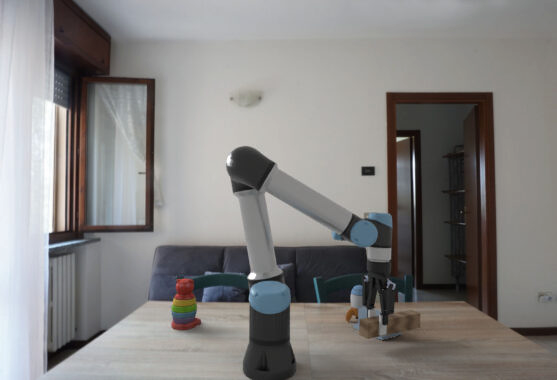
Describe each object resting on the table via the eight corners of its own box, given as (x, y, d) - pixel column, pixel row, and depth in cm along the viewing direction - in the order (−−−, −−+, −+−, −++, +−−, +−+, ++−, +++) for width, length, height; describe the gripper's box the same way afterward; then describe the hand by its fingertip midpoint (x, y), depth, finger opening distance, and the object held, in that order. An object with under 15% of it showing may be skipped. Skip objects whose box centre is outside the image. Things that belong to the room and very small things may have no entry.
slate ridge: (381, 340, 122) (381, 320, 122) (353, 328, 134) (353, 309, 134) (401, 335, 127) (401, 315, 127) (372, 323, 139) (372, 305, 139)
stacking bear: (202, 321, 140) (203, 276, 141) (193, 331, 130) (194, 282, 131) (175, 320, 141) (176, 275, 142) (165, 329, 131) (165, 281, 132)
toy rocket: (376, 326, 139) (373, 290, 137) (351, 333, 137) (347, 296, 135) (365, 314, 149) (361, 280, 147) (341, 320, 147) (337, 286, 145)
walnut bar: (367, 339, 112) (368, 323, 112) (359, 334, 115) (359, 319, 116) (420, 327, 124) (420, 313, 124) (410, 324, 127) (411, 310, 127)
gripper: (408, 263, 112) (406, 339, 111) (368, 255, 126) (366, 322, 126) (391, 265, 108) (389, 343, 107) (352, 256, 123) (350, 325, 122)
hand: (376, 331), depth 116 cm, fingers closed on walnut bar, 4 cm apart
